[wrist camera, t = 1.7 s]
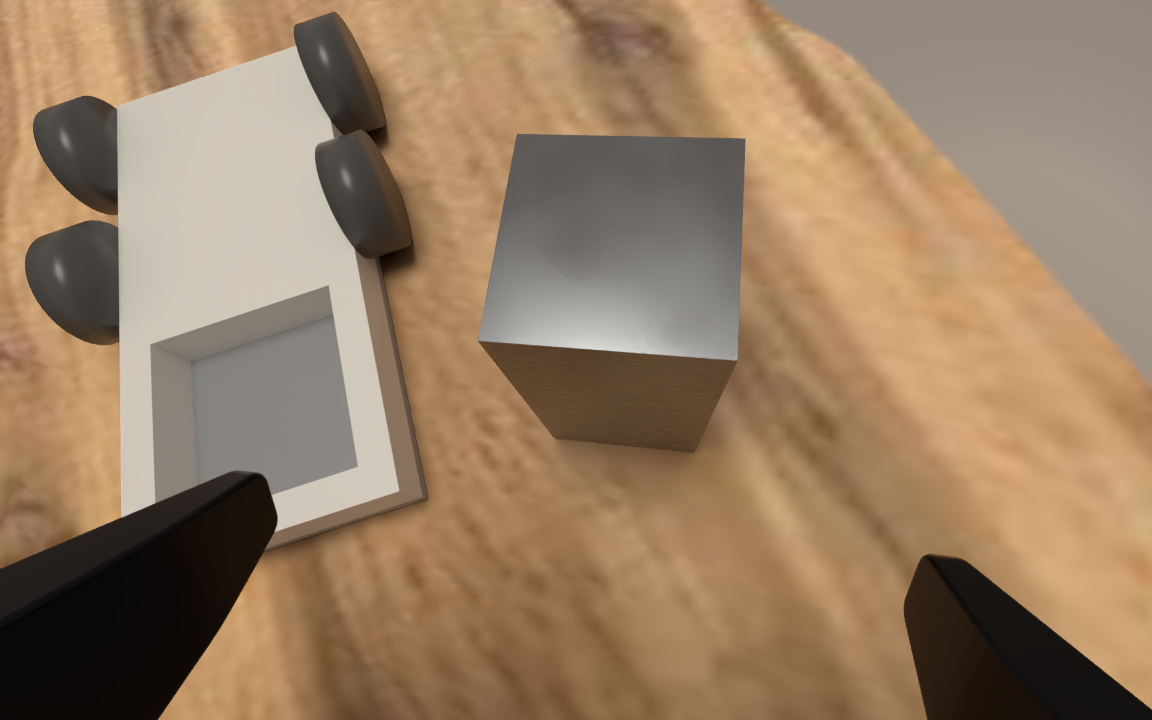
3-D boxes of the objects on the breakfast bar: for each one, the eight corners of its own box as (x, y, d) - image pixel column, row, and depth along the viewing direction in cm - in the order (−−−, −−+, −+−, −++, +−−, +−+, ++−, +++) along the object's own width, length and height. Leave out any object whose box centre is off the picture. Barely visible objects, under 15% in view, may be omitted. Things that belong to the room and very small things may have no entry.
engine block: (694, 452, 20) (737, 360, 10) (554, 438, 21) (477, 340, 11) (701, 321, 21) (745, 138, 12) (571, 312, 22) (517, 134, 13)
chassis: (469, 484, 20) (422, 466, 16) (140, 592, 20) (5, 602, 16) (374, 72, 27) (324, -17, 23) (131, 154, 28) (35, 80, 23)
